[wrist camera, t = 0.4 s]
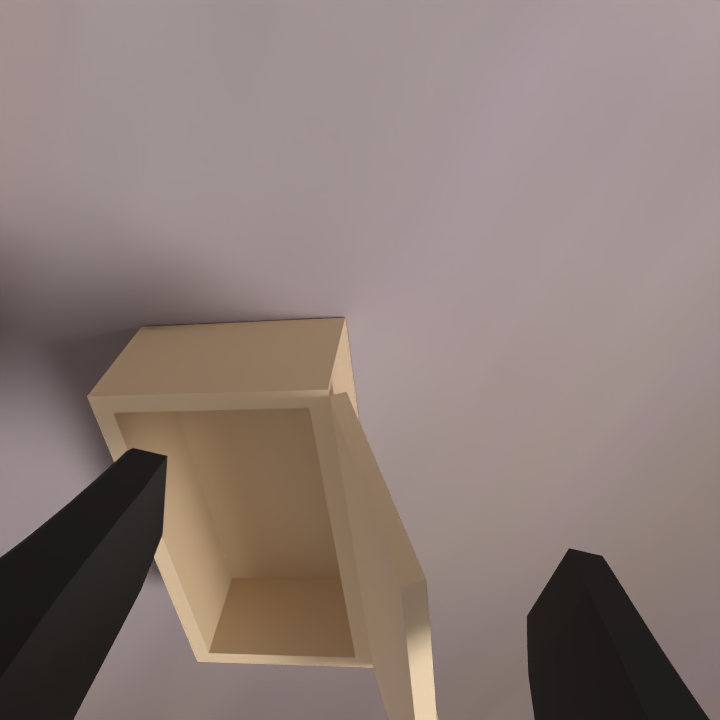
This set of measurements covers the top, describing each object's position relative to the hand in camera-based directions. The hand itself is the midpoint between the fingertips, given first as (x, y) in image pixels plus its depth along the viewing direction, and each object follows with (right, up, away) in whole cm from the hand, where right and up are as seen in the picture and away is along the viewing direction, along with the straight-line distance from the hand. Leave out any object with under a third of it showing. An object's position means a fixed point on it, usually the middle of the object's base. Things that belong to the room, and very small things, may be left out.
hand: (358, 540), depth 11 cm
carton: (-3, -1, +13) cm, 13 cm away
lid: (+1, -5, +6) cm, 8 cm away
